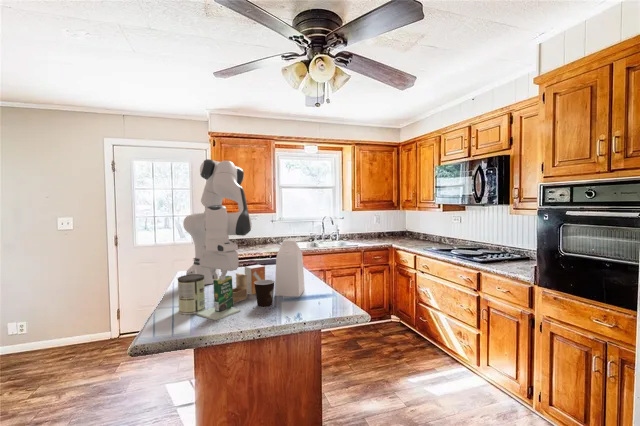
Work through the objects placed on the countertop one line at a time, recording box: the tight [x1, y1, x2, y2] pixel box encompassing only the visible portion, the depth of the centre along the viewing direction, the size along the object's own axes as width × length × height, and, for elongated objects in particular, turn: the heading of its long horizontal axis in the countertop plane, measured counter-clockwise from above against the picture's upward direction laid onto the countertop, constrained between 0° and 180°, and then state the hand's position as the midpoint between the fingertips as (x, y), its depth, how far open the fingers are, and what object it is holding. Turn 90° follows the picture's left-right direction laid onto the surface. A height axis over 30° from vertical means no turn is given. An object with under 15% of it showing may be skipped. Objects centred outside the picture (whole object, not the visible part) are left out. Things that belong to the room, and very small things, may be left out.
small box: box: [244, 264, 266, 296], centre depth 157 cm, size 8×6×13 cm
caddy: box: [232, 273, 248, 304], centre depth 144 cm, size 6×12×11 cm, turn 146°
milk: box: [274, 239, 306, 297], centre depth 156 cm, size 12×12×26 cm
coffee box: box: [213, 275, 234, 312], centre depth 131 cm, size 8×3×13 cm, turn 150°
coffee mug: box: [254, 279, 275, 308], centre depth 139 cm, size 12×9×10 cm
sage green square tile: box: [196, 306, 241, 321], centre depth 128 cm, size 12×12×1 cm
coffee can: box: [177, 274, 206, 316], centre depth 132 cm, size 10×10×14 cm
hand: (218, 279), depth 127 cm, fingers open, 3 cm apart
